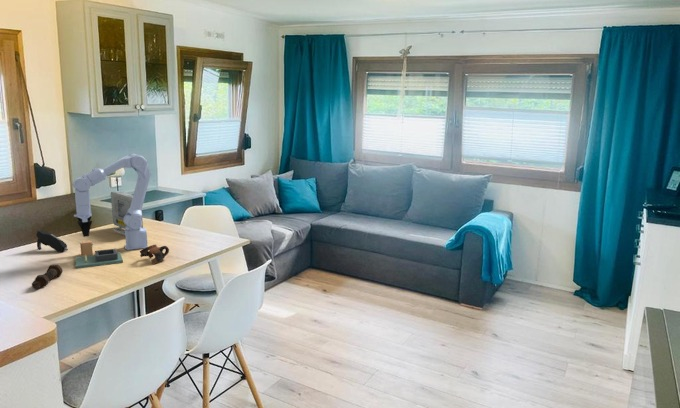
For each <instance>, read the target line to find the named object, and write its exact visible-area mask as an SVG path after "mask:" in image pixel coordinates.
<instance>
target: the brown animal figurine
mask: <svg viewBox="0 0 680 408" xmlns="http://www.w3.org/2000/svg"><path fill="white" fill-rule="evenodd" d="M164 250H165V251H164ZM163 251H164V252H163ZM139 252H140V256H139V257H140V258H142V257H148V258H149V259H151V260H150V261H151V263H152V264H153V265H156V264H157V263H162V262H164V259H165V257H166V256H167V255H168V254H169V253H170V249H169V247H168V246H166V245H162V246H160V247H159V246H157V244H153V245H149V246H148V247H146V248H141V250H140V251H139Z"/></svg>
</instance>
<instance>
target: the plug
mask: <svg viewBox="0 0 680 408" xmlns="http://www.w3.org/2000/svg"><path fill="white" fill-rule="evenodd" d="M79 247H80V255H82V256H85V255H86V256H90V255H94V252H93V241H92V239H91V240H89V239H88V240H82V241H81V242H80V246H79Z"/></svg>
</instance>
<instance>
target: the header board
mask: <svg viewBox="0 0 680 408" xmlns="http://www.w3.org/2000/svg"><path fill="white" fill-rule="evenodd" d="M120 263H121V264H122V263H124V260H123V257H122V253H121V252H120V251H117V249H116V248H110V249H109V248H107V249H101V250H94V254H93V255H90V256H86V255H85V256H83V255H82V256H76V257H75V269H81V268H89V267H90V268H91V267H100V266H105V265H106V266H107V265H114V264H120Z"/></svg>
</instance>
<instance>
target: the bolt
mask: <svg viewBox="0 0 680 408" xmlns="http://www.w3.org/2000/svg"><path fill="white" fill-rule="evenodd" d="M63 271H64V270H63V268H62V267H61V266H60V265H59V264H50V265H48V267H47V270H46V272H45V273H43V274H38V275H36V277H35V278H34V280H33V282H32V283H31V288H33V289H36V290H38V289H40V288H44V286H45V287H47V286H48V284H49V283H50V281H51V280H52V279H53V278H60V277H61V276H62V274H63ZM46 285H47V286H46Z"/></svg>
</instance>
